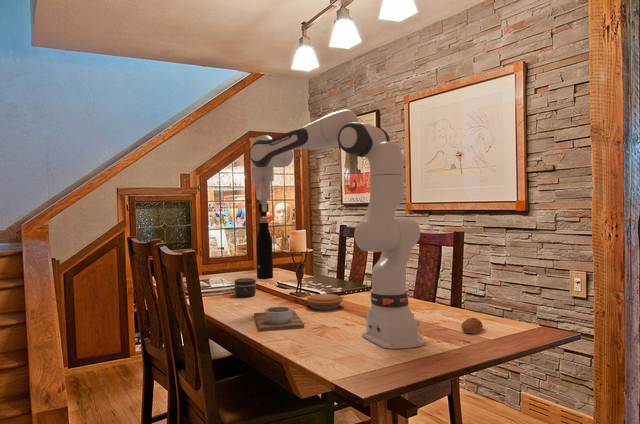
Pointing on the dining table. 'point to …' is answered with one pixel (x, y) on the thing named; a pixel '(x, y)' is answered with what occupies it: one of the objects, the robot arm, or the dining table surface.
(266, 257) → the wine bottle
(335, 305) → the pie
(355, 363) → the dining table surface
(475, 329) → the pastry
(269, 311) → the grey bowl
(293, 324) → the walnut board
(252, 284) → the jar
